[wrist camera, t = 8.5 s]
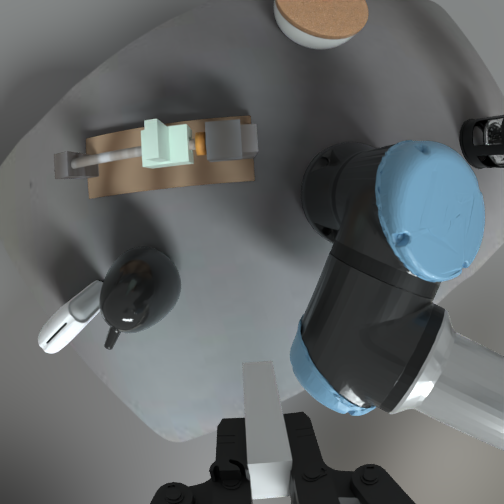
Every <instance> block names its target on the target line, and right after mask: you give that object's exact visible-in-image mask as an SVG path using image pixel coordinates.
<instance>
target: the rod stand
mask: <svg viewBox="0 0 504 504" xmlns="http://www.w3.org/2000/svg"><path fill="white" fill-rule="evenodd" d="M182 124H187V125H188V126H189V127H190V129H191V130H192V139H190V140H189V150H193V157H194V164H186V165H177V166H169V167H161V168H153V169H152V168H146V167H143V166H142V148H141V130H144V127H141V128H135V129H129V130H124V131H119V132H114V133H109V134H104V135H100V136H95V137H91V138H87V139H86V154H83V153H76V152H69V151H66V152H62V153H58V154H54V167H55V179H81V178H88V190H89V199H91V198H98V197H104V196H111V195H118V194H125V193H132V192H140V191H148V190H156V189H165V188H174V187H184V186H194V185H205V184H217V183H229V182H244V181H255V176H254V160H253V158H254V157H255V156H256V154H257V153H258V138H257V124H251V116H235V117H221V118H210V119H200V120H190V121H182V122H174V123H167V124H164V125H166V126H174V125H182Z"/></svg>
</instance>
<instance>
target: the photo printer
mask: <svg viewBox="0 0 504 504" xmlns="http://www.w3.org/2000/svg"><path fill="white" fill-rule="evenodd" d="M102 284H103V282H101V281H98V280H96V281H94V282H93V283H91V284H90V285H88V286H87V287H86V288H85V289H83V290H82V291H81V292H80V293H78V294H77V295H76V296H74V297H73V298H72V299H71V300H69V301H68V302H67V303H65V304H64V305H63V306H62V307H61V308H60V309H58V310H57V311H56V312H55V313H54V315H53V316H52V317H51V318H50V319H49V320H48V321H47V322H46V323H45V325H44V326H43V327H42V329H41V331H40V333H39V336H38V343H39V346H41V347H42V348H43V350H44V351H45V352H47V353H55V352H57V351H59V350H61V349H62V348H63V347H64V346H65V345H66V344H68V343H69V342H70V341H71V340H72V339H73V338H74V337H75V336H76V335H77V334H78V333H79V332H80V331H81V330H82V329H83V328H84V327H85V326H86V325H87V324H88V323H89V322H90V321H91V320H92V319H93V318H94V317H95V316H96V314H97V313H98V312H99V311H100V306H99V297H100V291H101V287H102Z"/></svg>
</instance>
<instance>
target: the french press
mask: <svg viewBox="0 0 504 504" xmlns="http://www.w3.org/2000/svg"><path fill="white" fill-rule="evenodd" d="M500 118H504V115H500V116H493V117H487V118H481V119H476V120H475V119H469V120H467V121H466V122H464V124H463V125H462V127H461V131H460V145H461V149H462V152H463V154H464V157H465V158H466V160H467V161H468V163H469V164H470V165H472V166H473V167H475V168H478V169H482V168H492V167H496V168H504V119H503V121H502V122H501V121H500V120H498V119H500ZM474 126H477V127H479V128H480V129H481V130H482V131H483V142H484V145H480V146H474V144H473V129H474ZM480 155H487V156H486V158H485V160H483V161H482V162H481V161H480V159H479V158H478V156H480Z"/></svg>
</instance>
